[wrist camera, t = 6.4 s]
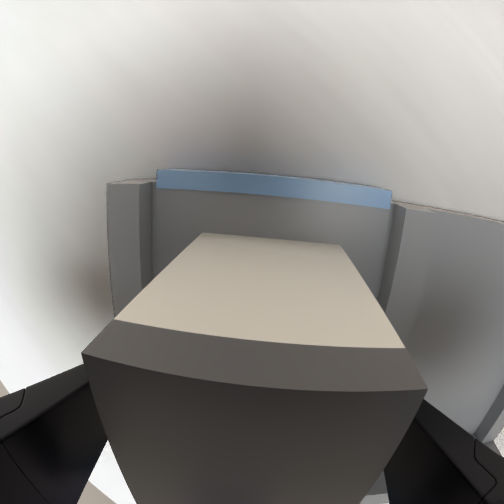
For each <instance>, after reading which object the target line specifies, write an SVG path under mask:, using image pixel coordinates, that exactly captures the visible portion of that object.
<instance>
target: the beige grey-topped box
mask: <svg viewBox="0 0 504 504" xmlns="http://www.w3.org/2000/svg"><path fill="white" fill-rule="evenodd" d="M81 354H82V358H83V362H84V366H85V370H86V373H87V377H88V380H89V384H90V387H91V391H92V394H93V397H94V401H95V404H96V407H97V410H98V413H99V416H100V419H101V422H102V424H103V427H104V430H105V433H106V435H107V438H108V441H109V443H110V446H111V448H112V451H113V453H114V456H115V458H116V461H117V463H118V465H119V468H120V470H121V472H122V474H123V477H124V479H125V481H126V483H127V485H128V487H129V489H130V491H131V493H132V495H133V497H134V499H135V501H136V503H137V504H360V502H361V501H362V500H363V498H364V497H365V496H366V494H367V493H368V492H369V490H370V489H371V487H372V486H373V484H374V483H375V482H376V480H377V479H378V477H379V476H380V474H381V473H382V471H383V470H384V468H385V467H386V465H387V463H388V462H389V460H390V459H391V457H392V455H393V454H394V452H395V451H396V449H397V447H398V445H399V444H400V442H401V440H402V439H403V437H404V435H405V433H406V431H407V430H408V428H409V426H410V424H411V422H412V420H413V419H414V417H415V415H416V413H417V411H418V409H419V407H420V405H421V403H422V401H423V399H424V397H425V395H426V392H427V390H428V388H427V386H426V384H425V382H424V380H423V378H422V376H421V375H420V373H419V371H418V369H417V367H416V366H415V364H414V362H413V360H412V359H411V357H410V355H409V353H408V352H407V350H406V348H405V346H404V345H403V343H402V341H401V340H400V338H399V336H398V334H397V333H396V331H395V329H394V328H393V326H392V324H391V323H390V321H389V320H388V318H387V316H386V315H385V313H384V311H383V310H382V308H381V307H380V305H379V303H378V302H377V300H376V299H375V297H374V295H373V294H372V292H371V291H370V289H369V288H368V286H367V284H366V283H365V281H364V280H363V278H362V277H361V275H360V274H359V272H358V271H357V269H356V268H355V266H354V265H353V263H352V262H351V260H350V259H349V257H348V256H347V254H346V253H345V251H344V250H343V248H342V247H341V245H335V244H325V243H315V242H304V241H293V240H283V239H272V238H261V237H249V236H238V235H226V234H214V233H201V234H200V235H199V236H198V237H197V238H196V239H195V240H194V241H193V242H192V243H191V244H190V245H189V246H187V247H186V248H185V249H184V250H183V251H182V252H181V253H180V254H179V255H178V256H177V257H176V258H175V259H174V260H173V261H172V262H171V263H170V264H169V265H168V266H167V267H166V268H164V269H163V270H162V271H161V272H160V273H159V274H158V275H157V276H156V277H155V278H154V279H153V280H152V281H151V282H150V283H149V284H148V285H147V286H146V287H145V288H144V289H143V290H142V291H141V292H140V293H139V294H138V295H137V296H136V297H135V298H134V299H133V300H132V301H131V302H130V303H129V304H128V305H127V306H126V307H125V308H124V309H123V310H122V311H121V312H120V313H119V314H118V315H117V316H116V317H115V318H114V319H113V320H112V321H111V322H110V323H109V324H108V325H107V326H106V327H105V328H104V329H103V331H102V332H101V333H100V334H99V335H98V336H97V337H96V338H95V339H94V340H93V341H92V342H91V343H90V344H89V345H88V346H87V347H86V348H85V349H84V350H83V351H82V353H81Z"/></svg>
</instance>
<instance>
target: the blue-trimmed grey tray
mask: <svg viewBox="0 0 504 504" xmlns="http://www.w3.org/2000/svg"><path fill="white" fill-rule="evenodd" d="M391 197H392V191H390V190H387V189H384V188H379V187H372V186H365V185H358V184H351V183H343V182H335V181H327V180H319V179H310V178H301V177H291V176H280V175H269V174H257V173H243V172H228V171H210V170H188V169H162V170H157V180H156V179H130V180H124V181H118V182H113V183H107V232H108V252H109V267H110V279H111V289H112V299H113V308H114V316H115V317H116V316H117V315H118V314H119V313H120V312H121V311H122V310H123V309H124V308H125V307H126V306H127V305H128V304H129V303H130V302H131V301H132V300H133V299H134V298H135V297H136V296H137V295H138V294H139V293H140V292H141V291H142V290H143V289H144V288H145V287H146V286H147V285H148V284H149V283H150V282H151V281H152V280H153V279H154V278H155V277H156V276H157V275H158V274H159V273H160V272H161V271H162V270H163V269H164V268H166V267H167V266H168V265H169V264H170V263H171V262H172V261H173V260H174V259H175V258H176V257H177V256H178V255H179V254H180V253H181V252H182V251H183V250H184V249H185V248H186V247H187V246H189V245H190V244H191V243H192V242H193V241H194V240H195V239H196V238H197V237H198V236H199V235H200V234H201V233H214V234H226V235H238V236H249V237H261V238H272V239H283V240H293V241H304V242H315V243H325V244H335V245H341V247H342V248H343V250H344V251H345V253H346V254H347V256H348V257H349V259H350V260H351V262H352V263H353V265H354V266H355V268H356V269H357V271H358V272H359V274H360V275H361V277H362V278H363V280H364V281H365V283H366V284H367V286H368V288H369V289H370V291H371V292H372V294H373V295H374V297H375V299H376V300H377V302H378V303H379V305H380V307H381V308H382V310H383V311H384V313H385V315H386V316H387V318H388V320H389V321H390V323H391V324H392V326H393V328H394V329H395V331H396V333H397V334H398V336H399V338H400V340H401V341H402V343H403V345H404V346H405V348H406V350H407V352H408V353H409V355H410V357H411V359H412V360H413V362H414V364H415V366H416V367H417V369H418V371H419V373H420V375H421V376H422V378H423V380H424V382H425V384H426V386H427V388H428V390H427V392H426V395H425V397H424V399H425V400H426V401H427V402H429V403H430V404H431V405H433V406H434V407H435V408H437V409H438V410H439V411H441V412H442V413H443V414H445V415H446V416H447V417H448V418H450V419H451V420H452V421H454V422H455V423H456V424H458V425H459V426H460V427H462V428H463V429H464V430H466V431H467V432H468V433H470V434H471V435H472V436H474V437H475V439H478V440H479V441H480V442H482V443H483V444H484V445H486V446H487V447H489V448H490V449H491V450H493V451H494V452H496V453H497V454H499V455H500V456H501V454H500V452H499V450H498V448H497V446H496V445H495V443H494V439H495V438H496V437H497V435H498V434H499V432H500V431H501V430H502V428H503V427H504V222H502V221H497V220H493V219H488V218H484V217H479V216H474V215H469V214H464V213H459V212H454V211H449V210H443V209H438V208H432V207H427V206H421V205H415V204H409V203H403V202H396V201H391ZM385 503H389V499H388V493H387V487H386V481H385V476H384V471H382V473H381V474H380V476H379V477H378V479H377V480H376V482H375V483H374V484H373V486H372V487H371V489H370V490H369V492H368V493H367V494H366V496H365V497H364V498H363V500H362V501H361V502H360V504H385Z"/></svg>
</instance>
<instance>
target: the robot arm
mask: <svg viewBox="0 0 504 504" xmlns="http://www.w3.org/2000/svg"><path fill="white" fill-rule="evenodd" d="M107 440H108V438H107V435H106V433H105V430H104V427H103V424H102V422H101V419H100V416H99V413H98V410H97V407H96V404H95V401H94V397H93V394H92V391H91V387H90V384H89V380H88V377H87V373H86V370H85V366H84V364H82V365H79V366H77V367H75V368H72V369H70V370H67V371H65V372H63V373H60V374H58V375H56V376H53V377H51V378H48V379H46V380H43V381H41V382H39V383H36V384H34V385H31V386H29V387H27V388H26V389H25V388H24V389H21V390H19V391H16V392H14V393H11V394H8V395H6V396H3V397H0V504H77V502H78V500H79V498H80V496H81V493H82V492H83V489H84V487H85V485H86V483H87V481H88V479H89V477H90V475H91V473H92V471H93V469H94V467H95V465H96V463H97V460H98V458H99V456H100V454H101V452H102V450H103V448H104V446H105V444H106V442H107ZM383 471H384V476H385V481H386V487H387V493H388V499H389V504H504V457H502V456H500V455H499V454H497V453H496V452H494V451H493V450H491V449H490V448H489V447H487V446H486V445H484V444H483V443H482V442H480V441H479V440H478V439H475V437H474V436H472V435H471V434H470V433H468V432H467V431H466V430H464V429H463V428H462V427H460V426H459V425H458V424H456V423H455V422H454V421H452V420H451V419H450V418H448V417H447V416H446V415H445V414H443V413H442V412H441V411H439V410H438V409H437V408H435V407H434V406H433V405H431V404H430V403H429V402H427V401H426V400H425V399H423V401H422V403H421V405H420V407H419V409H418V411H417V413H416V415H415V417H414V419H413V420H412V422H411V424H410V426H409V428H408V430H407V431H406V433H405V435H404V437H403V439H402V440H401V442H400V444H399V445H398V447H397V449H396V451H395V452H394V454H393V455H392V457H391V459H390V460H389V462H388V463H387V465H386V467H385V468H384V470H383Z"/></svg>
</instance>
